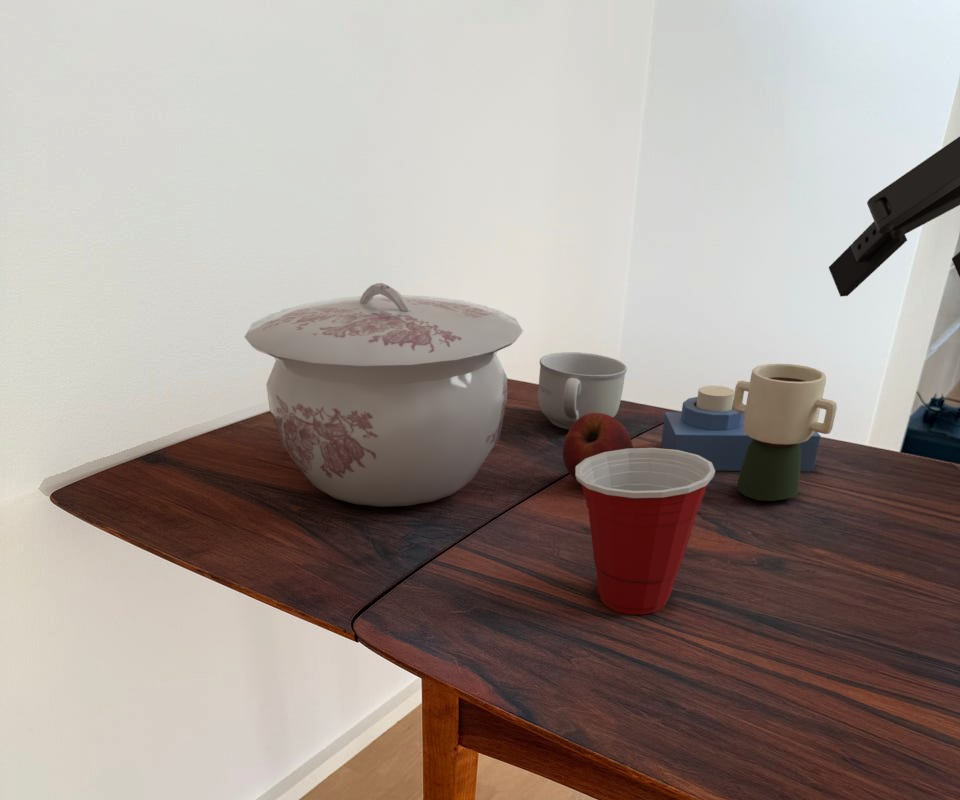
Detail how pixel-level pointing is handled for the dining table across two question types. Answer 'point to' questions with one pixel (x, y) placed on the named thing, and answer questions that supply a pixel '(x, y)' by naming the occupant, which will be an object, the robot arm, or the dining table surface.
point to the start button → (715, 398)
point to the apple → (593, 439)
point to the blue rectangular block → (719, 437)
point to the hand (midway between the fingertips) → (900, 277)
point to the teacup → (579, 386)
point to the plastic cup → (641, 521)
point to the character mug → (779, 426)
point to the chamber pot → (387, 392)
